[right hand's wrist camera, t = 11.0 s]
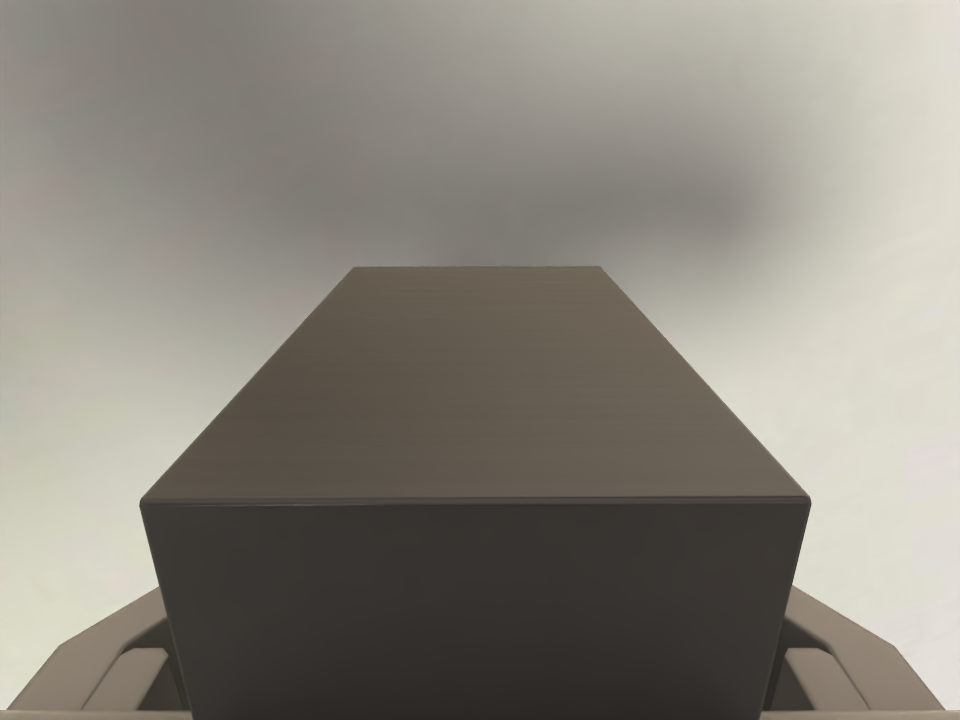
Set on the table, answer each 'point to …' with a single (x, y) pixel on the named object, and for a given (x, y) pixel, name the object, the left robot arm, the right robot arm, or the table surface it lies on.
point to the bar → (476, 516)
